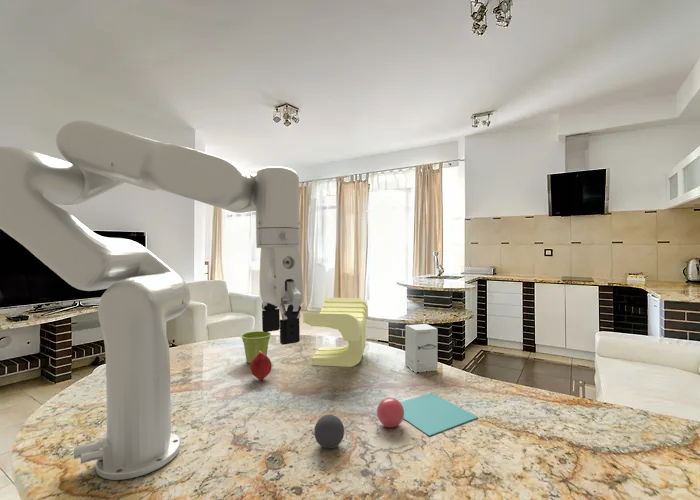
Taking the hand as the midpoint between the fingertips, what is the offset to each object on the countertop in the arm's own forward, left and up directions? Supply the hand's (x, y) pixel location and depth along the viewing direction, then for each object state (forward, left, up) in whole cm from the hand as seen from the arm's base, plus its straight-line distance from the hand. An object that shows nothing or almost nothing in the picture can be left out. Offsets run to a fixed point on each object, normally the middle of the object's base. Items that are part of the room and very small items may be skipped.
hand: (279, 336), depth 60 cm
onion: (+7, +36, -21) cm, 42 cm away
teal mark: (+34, -2, -21) cm, 40 cm away
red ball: (+23, -2, -18) cm, 29 cm away
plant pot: (+10, +52, -21) cm, 57 cm away
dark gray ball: (+9, -2, -18) cm, 20 cm away
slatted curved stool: (+34, +40, -21) cm, 56 cm away
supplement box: (+51, +20, -21) cm, 58 cm away
